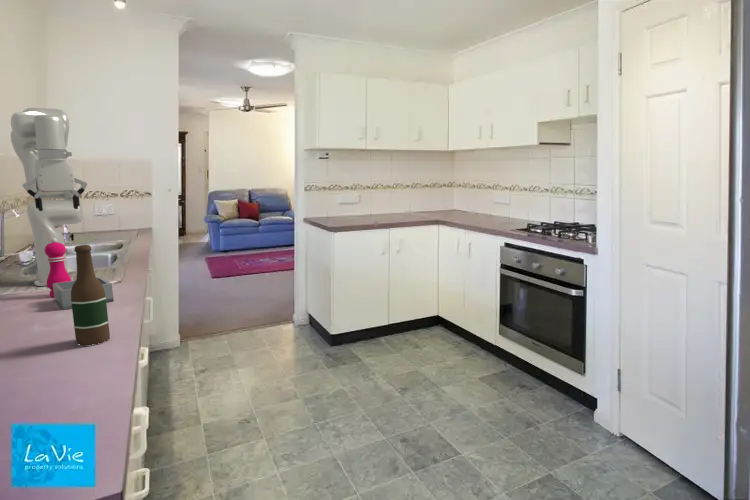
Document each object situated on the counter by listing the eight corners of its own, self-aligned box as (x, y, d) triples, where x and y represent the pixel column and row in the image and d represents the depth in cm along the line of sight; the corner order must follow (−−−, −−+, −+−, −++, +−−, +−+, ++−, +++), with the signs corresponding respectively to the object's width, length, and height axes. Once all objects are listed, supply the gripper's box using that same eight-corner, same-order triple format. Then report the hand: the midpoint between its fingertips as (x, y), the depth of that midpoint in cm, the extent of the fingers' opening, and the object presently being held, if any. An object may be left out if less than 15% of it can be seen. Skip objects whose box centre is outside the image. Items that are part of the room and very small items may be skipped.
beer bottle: (101, 333, 123) (91, 242, 119) (117, 339, 119) (107, 244, 115) (69, 342, 117) (57, 246, 113) (84, 349, 113) (72, 249, 109)
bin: (54, 301, 156) (52, 283, 155) (102, 293, 165) (100, 276, 164) (63, 310, 146) (60, 291, 145) (113, 301, 155) (111, 283, 154)
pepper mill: (61, 298, 159) (53, 239, 156) (42, 297, 161) (35, 239, 158) (78, 293, 166) (71, 236, 163) (60, 292, 168) (53, 236, 165)
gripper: (81, 155, 158) (86, 207, 161) (16, 155, 147) (24, 210, 150) (86, 155, 153) (92, 209, 156) (20, 155, 141) (27, 212, 144)
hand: (58, 209), depth 153 cm, fingers open, 9 cm apart
